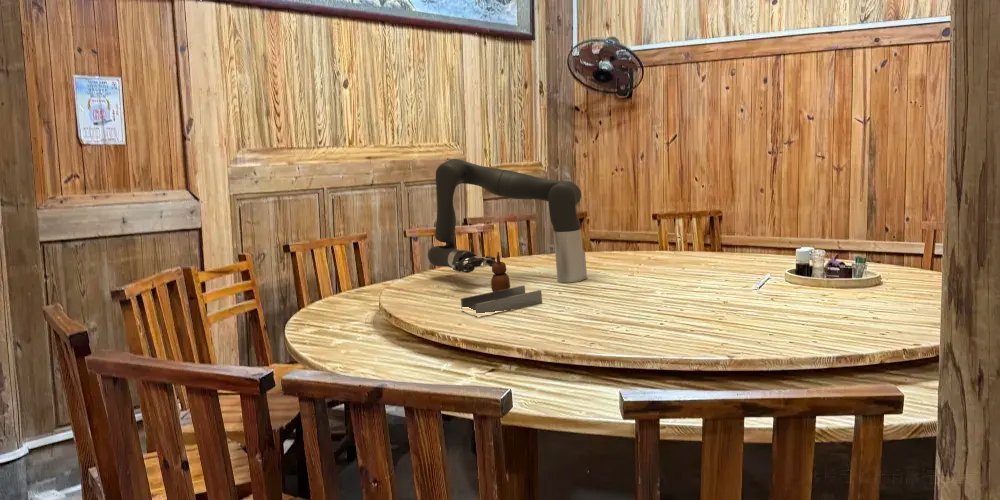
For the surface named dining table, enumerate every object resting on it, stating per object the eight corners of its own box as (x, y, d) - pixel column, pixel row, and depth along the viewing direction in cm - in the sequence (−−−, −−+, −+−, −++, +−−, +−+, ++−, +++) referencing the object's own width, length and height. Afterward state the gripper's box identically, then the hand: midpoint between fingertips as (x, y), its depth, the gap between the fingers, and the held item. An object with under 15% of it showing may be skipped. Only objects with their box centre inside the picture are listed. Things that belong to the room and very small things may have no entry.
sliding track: (524, 297, 265) (523, 285, 264) (542, 303, 255) (541, 290, 254) (461, 311, 255) (460, 298, 254) (478, 317, 245) (477, 304, 244)
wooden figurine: (508, 298, 266) (504, 252, 263) (490, 299, 267) (486, 253, 264) (512, 293, 272) (508, 248, 270) (495, 294, 273) (490, 249, 271)
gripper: (442, 253, 288) (463, 258, 274) (479, 246, 294) (501, 251, 280) (444, 274, 289) (465, 281, 275) (481, 267, 296) (503, 273, 281)
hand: (483, 266), depth 277 cm, fingers open, 8 cm apart
